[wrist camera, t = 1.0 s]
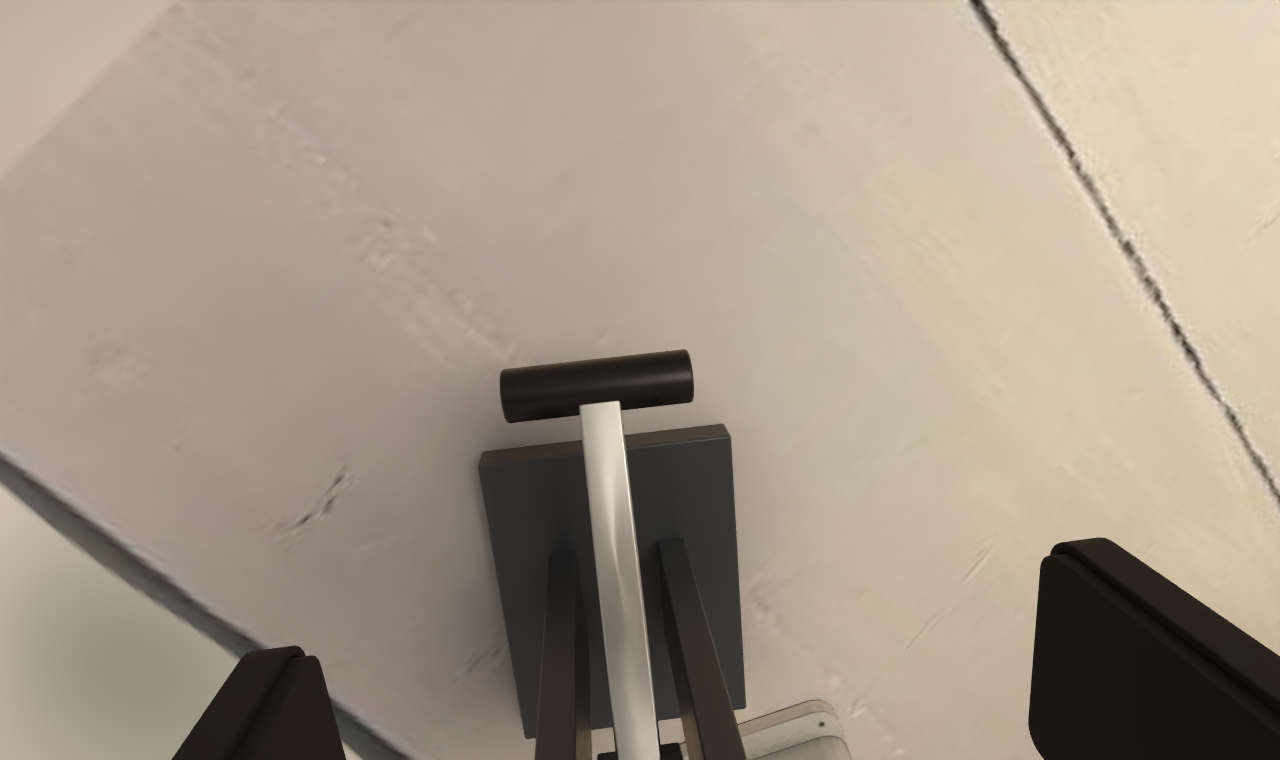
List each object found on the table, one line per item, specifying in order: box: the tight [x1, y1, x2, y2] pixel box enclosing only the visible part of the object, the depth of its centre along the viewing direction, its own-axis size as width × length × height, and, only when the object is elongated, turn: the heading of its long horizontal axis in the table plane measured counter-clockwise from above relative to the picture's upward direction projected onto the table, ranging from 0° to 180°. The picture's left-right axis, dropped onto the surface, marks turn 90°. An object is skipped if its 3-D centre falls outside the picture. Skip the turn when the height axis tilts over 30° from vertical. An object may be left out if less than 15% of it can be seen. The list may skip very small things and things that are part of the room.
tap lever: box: [500, 349, 694, 760], centre depth 18 cm, size 13×5×2 cm, turn 5°
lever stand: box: [478, 424, 747, 760], centre depth 22 cm, size 12×9×13 cm
